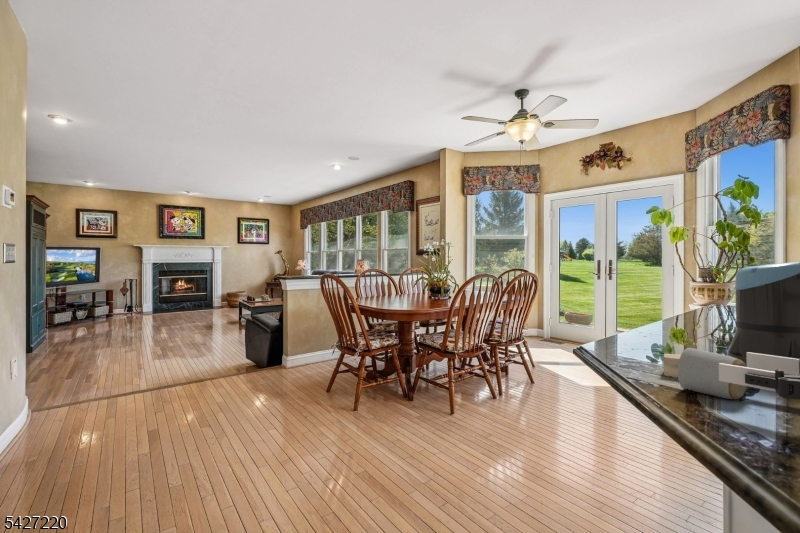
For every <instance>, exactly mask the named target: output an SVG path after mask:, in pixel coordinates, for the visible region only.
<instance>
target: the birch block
mask: <svg viewBox="0 0 800 533" xmlns="http://www.w3.org/2000/svg"><path fill="white" fill-rule="evenodd" d="M680 357H681V354H672V353H664V354H663V376H664V375H665V376H664V377H670V376H672V377H671V378H677V377H678V363H679V359H680Z"/></svg>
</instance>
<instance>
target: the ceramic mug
mask: <svg viewBox="0 0 800 533" xmlns="http://www.w3.org/2000/svg"><path fill="white" fill-rule="evenodd" d="M680 355H681V357H680V359H679V363H678V378H677V380H678V383H679V385H680V387H681V388H682V389H684V390H687V389H688V390H687V391H691V390H692V391H693V392H696V393H701V394H704V395H709V396H714V397H717V398H721V399H725V400H726V399H728V400H738V399H741V398H742V397H743V396H744V394H745V392H746V390H747V387H748V386H744V385H739V384H734V383H728V382H723V381H719V363H724V364H730V365H736V366H742V367H746V365H745V363H744V362H743V361H742V360H740V359H737V358H734V357H731V356H727V354H726V355H725V354H722V353H716V352H712V351H707V350H702V349H698V348H695V347H694V348H693V347H687V348H684V351H682V352H681V354H680Z"/></svg>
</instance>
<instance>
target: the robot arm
mask: <svg viewBox="0 0 800 533" xmlns="http://www.w3.org/2000/svg"><path fill="white" fill-rule="evenodd" d="M734 290H735V325H736V326H735V328H736V329H735V333H734V334H733V338H732V341H731V342H730V345H729V347H728V349H727V351H726V352H727V353H726V356H731V357H734V358H737V359H740V360H742V361H743V362H744V363H745V365H746V367H742V366H736V365H730V364H724V363H719V381H723V382H728V383H734V384H739V385H744V386H747V387H750V388H756V389H761V390H766V391H771V392H775V393H778V397H780V398H784V399H795V400H800V261H792V262H791V261H790V262H782V263H771V264H769V263H768V264H762V265H761V264H760V265H752V266H747V267H746V266H745V267H743V268H740V269H739V270H737V272H736V274H735V284H734Z"/></svg>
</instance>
